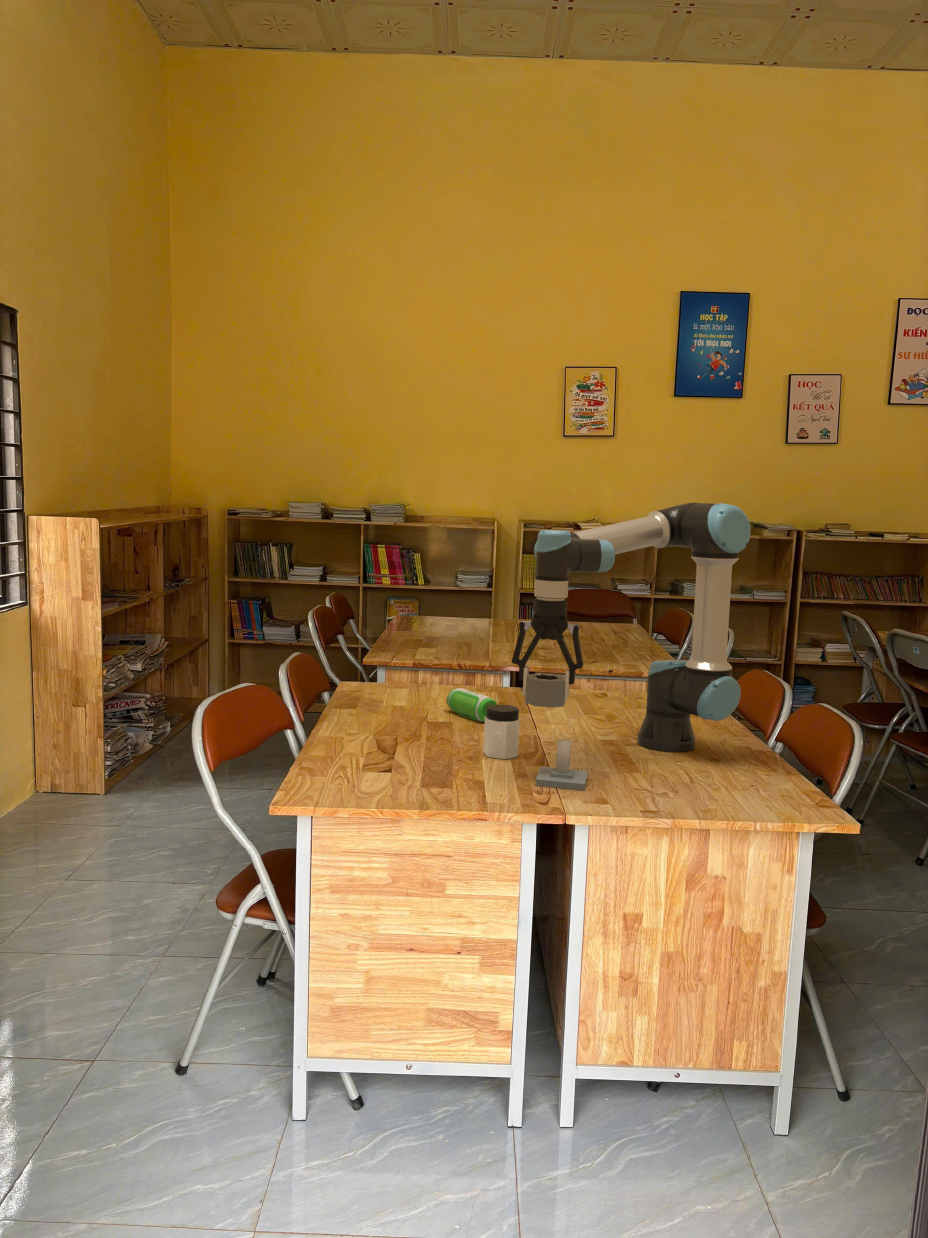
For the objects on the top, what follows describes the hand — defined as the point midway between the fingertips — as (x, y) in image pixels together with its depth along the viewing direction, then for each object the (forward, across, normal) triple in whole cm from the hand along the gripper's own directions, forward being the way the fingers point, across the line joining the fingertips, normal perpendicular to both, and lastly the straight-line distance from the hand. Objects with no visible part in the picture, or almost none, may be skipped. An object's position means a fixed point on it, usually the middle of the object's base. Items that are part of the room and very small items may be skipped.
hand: (545, 696), depth 225 cm
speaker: (+20, +28, -54) cm, 64 cm away
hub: (+2, 0, 0) cm, 2 cm away
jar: (+19, +12, -16) cm, 28 cm away
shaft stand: (+19, -5, +2) cm, 20 cm away
